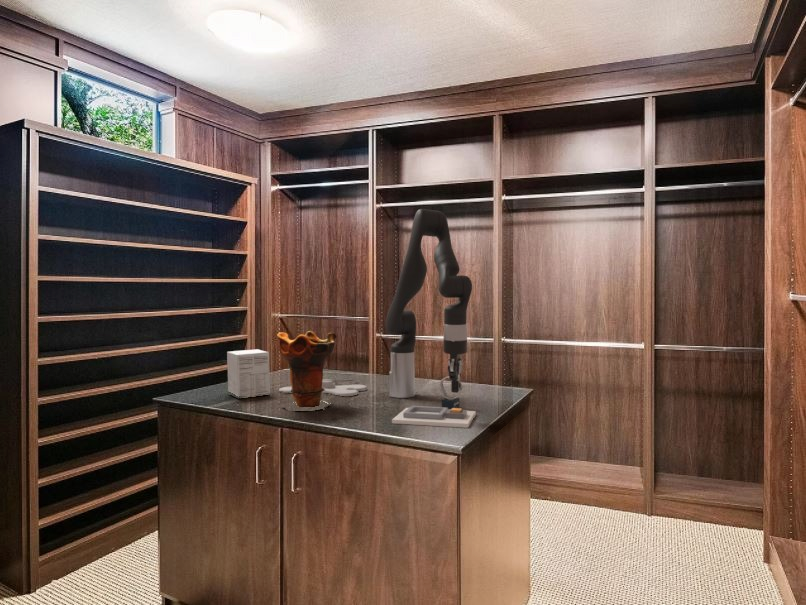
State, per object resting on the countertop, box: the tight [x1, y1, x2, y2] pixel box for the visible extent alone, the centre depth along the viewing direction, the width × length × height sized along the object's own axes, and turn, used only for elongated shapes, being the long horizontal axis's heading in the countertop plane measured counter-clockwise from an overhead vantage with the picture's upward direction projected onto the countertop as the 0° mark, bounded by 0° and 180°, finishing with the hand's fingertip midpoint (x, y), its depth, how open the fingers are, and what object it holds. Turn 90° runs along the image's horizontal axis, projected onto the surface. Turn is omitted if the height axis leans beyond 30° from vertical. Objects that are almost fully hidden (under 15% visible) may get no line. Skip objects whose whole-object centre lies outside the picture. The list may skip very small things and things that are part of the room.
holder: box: [278, 378, 368, 396], centre depth 231 cm, size 19×34×5 cm, turn 73°
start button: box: [451, 407, 463, 413], centre depth 179 cm, size 3×3×2 cm
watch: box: [439, 375, 463, 410], centre depth 197 cm, size 6×8×11 cm
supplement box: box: [226, 348, 271, 397], centre depth 224 cm, size 13×13×18 cm
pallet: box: [391, 405, 477, 429], centre depth 181 cm, size 24×17×3 cm
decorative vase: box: [276, 330, 337, 409], centre depth 202 cm, size 21×23×28 cm
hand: (455, 392), depth 179 cm, fingers closed
